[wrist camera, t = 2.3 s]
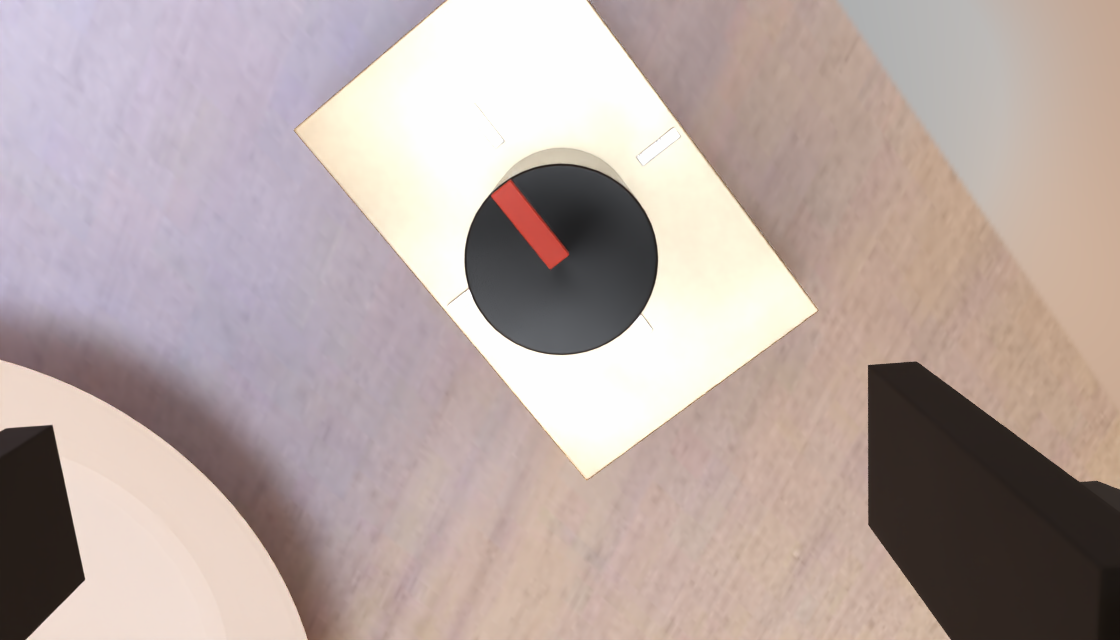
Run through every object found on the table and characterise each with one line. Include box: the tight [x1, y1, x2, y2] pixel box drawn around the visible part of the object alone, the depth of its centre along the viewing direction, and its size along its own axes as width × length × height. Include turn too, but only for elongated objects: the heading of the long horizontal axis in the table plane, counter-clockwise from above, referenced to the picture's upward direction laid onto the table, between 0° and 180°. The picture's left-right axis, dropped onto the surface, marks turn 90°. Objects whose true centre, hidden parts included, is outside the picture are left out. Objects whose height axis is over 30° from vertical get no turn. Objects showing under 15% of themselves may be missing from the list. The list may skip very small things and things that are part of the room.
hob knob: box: [464, 148, 658, 355], centre depth 24 cm, size 4×4×7 cm
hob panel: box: [294, 0, 818, 480], centre depth 29 cm, size 14×9×3 cm, turn 38°
